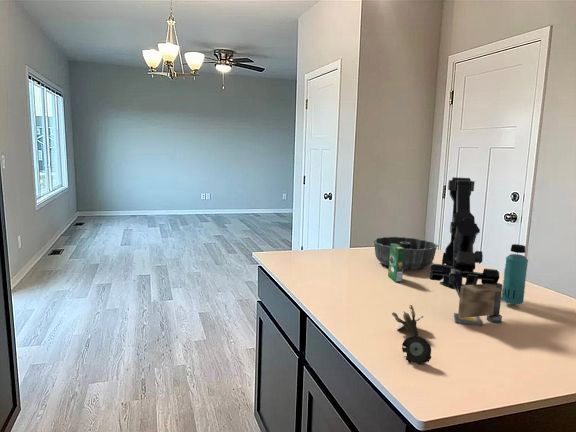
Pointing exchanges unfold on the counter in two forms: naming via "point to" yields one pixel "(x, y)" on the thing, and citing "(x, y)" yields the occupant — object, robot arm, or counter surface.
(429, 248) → the bundt pan
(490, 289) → the brown wooden block
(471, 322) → the label plaque
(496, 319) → the pivot foot
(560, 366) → the counter surface
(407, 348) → the artificial flower
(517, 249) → the beverage bottle
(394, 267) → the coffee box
